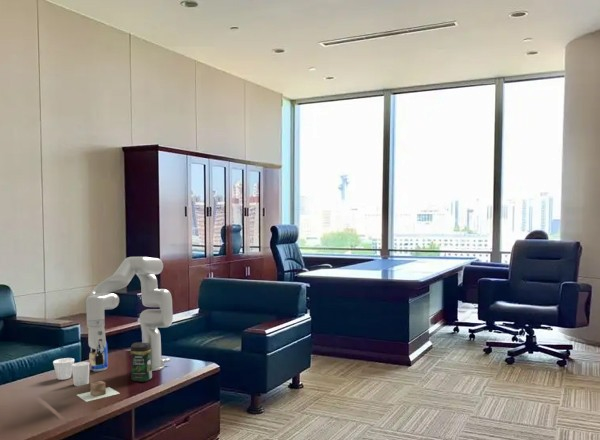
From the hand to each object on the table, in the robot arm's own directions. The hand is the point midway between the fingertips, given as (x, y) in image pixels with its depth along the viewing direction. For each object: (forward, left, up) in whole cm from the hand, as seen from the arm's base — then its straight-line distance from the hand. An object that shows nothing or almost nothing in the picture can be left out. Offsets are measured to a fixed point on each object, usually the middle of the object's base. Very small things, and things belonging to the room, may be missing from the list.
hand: (97, 362), depth 235 cm
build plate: (0, 0, -15) cm, 15 cm away
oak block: (0, 0, -1) cm, 1 cm away
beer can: (-17, -46, -16) cm, 51 cm away
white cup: (-1, -26, -16) cm, 30 cm away
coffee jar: (-25, -10, -16) cm, 31 cm away
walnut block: (0, 0, -14) cm, 14 cm away
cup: (+2, -43, -16) cm, 46 cm away
